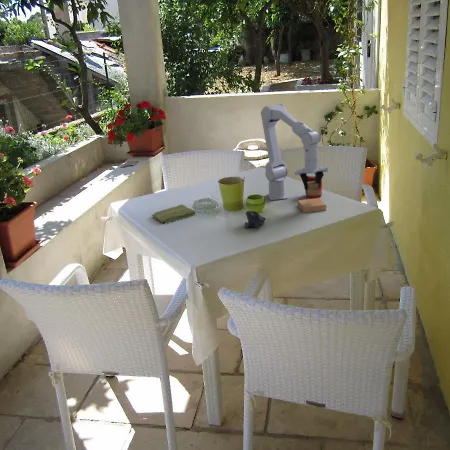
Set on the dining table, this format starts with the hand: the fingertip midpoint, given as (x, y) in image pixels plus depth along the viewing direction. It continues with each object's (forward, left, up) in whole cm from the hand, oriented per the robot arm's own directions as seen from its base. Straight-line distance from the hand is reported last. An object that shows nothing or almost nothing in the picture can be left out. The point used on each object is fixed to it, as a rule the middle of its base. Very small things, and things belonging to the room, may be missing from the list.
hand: (311, 188), depth 216 cm
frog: (+14, -29, -9) cm, 33 cm away
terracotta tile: (0, 0, -9) cm, 9 cm away
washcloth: (-10, -62, -10) cm, 64 cm away
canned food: (-16, +6, -9) cm, 19 cm away
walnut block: (0, 0, -2) cm, 2 cm away
